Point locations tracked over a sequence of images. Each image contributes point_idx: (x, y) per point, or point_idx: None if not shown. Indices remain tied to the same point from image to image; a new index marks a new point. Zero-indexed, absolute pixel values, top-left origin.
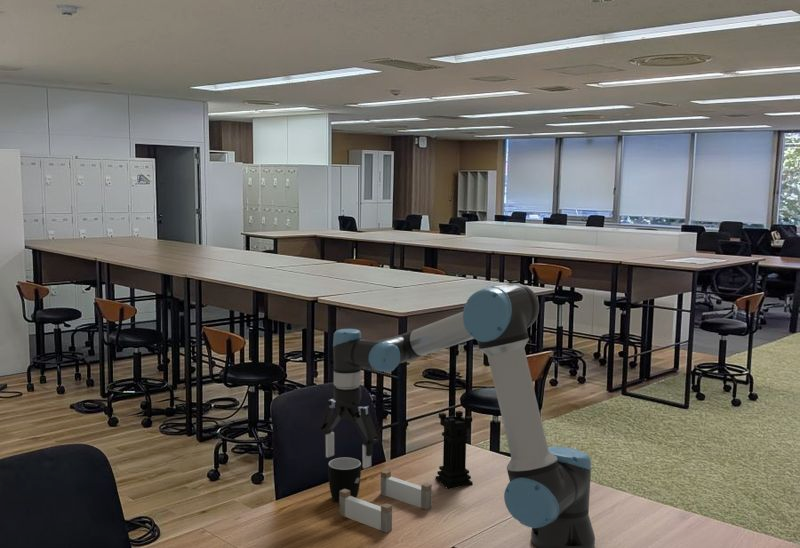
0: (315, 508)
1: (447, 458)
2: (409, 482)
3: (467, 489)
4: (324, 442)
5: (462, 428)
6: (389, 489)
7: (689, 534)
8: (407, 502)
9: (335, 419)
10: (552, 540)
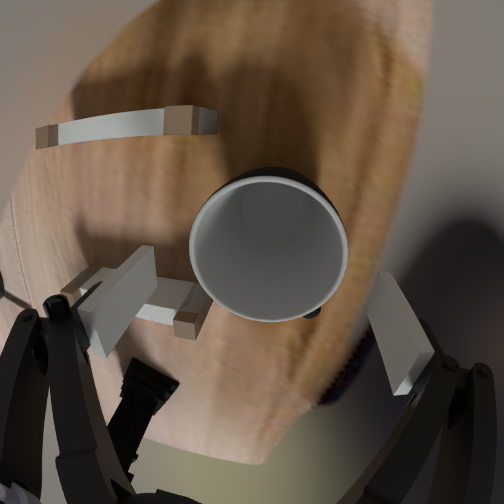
0: (307, 102)
1: (137, 412)
2: None
3: (115, 363)
4: (426, 323)
5: None
6: (177, 291)
7: None
8: None
9: (369, 487)
10: None
